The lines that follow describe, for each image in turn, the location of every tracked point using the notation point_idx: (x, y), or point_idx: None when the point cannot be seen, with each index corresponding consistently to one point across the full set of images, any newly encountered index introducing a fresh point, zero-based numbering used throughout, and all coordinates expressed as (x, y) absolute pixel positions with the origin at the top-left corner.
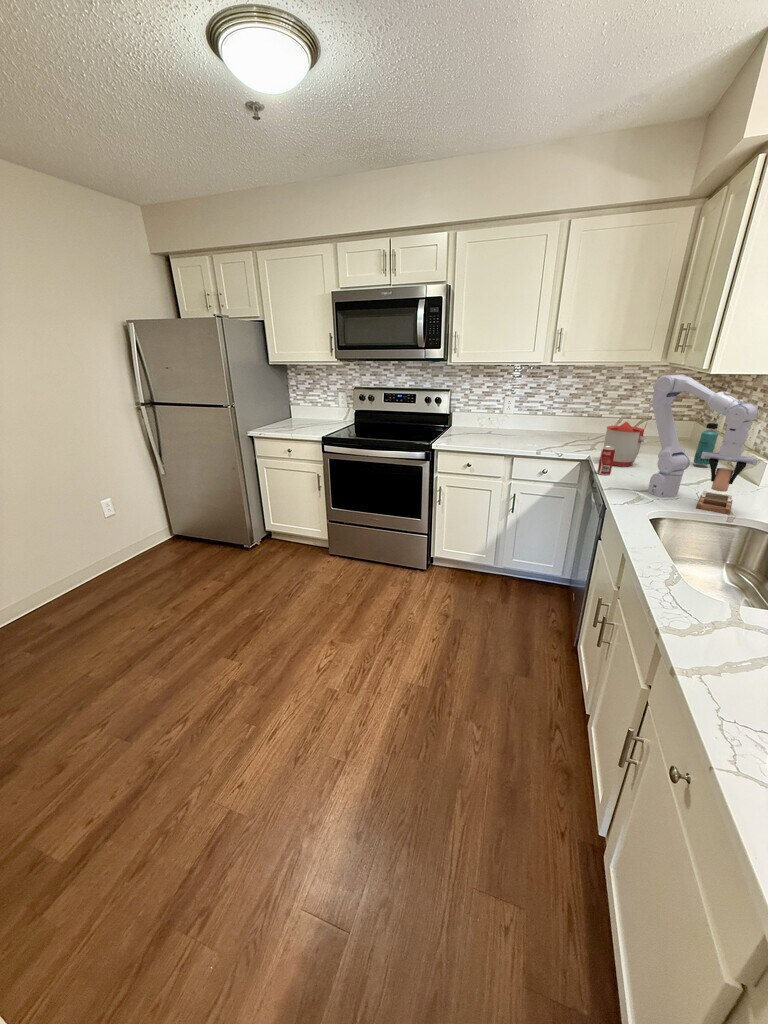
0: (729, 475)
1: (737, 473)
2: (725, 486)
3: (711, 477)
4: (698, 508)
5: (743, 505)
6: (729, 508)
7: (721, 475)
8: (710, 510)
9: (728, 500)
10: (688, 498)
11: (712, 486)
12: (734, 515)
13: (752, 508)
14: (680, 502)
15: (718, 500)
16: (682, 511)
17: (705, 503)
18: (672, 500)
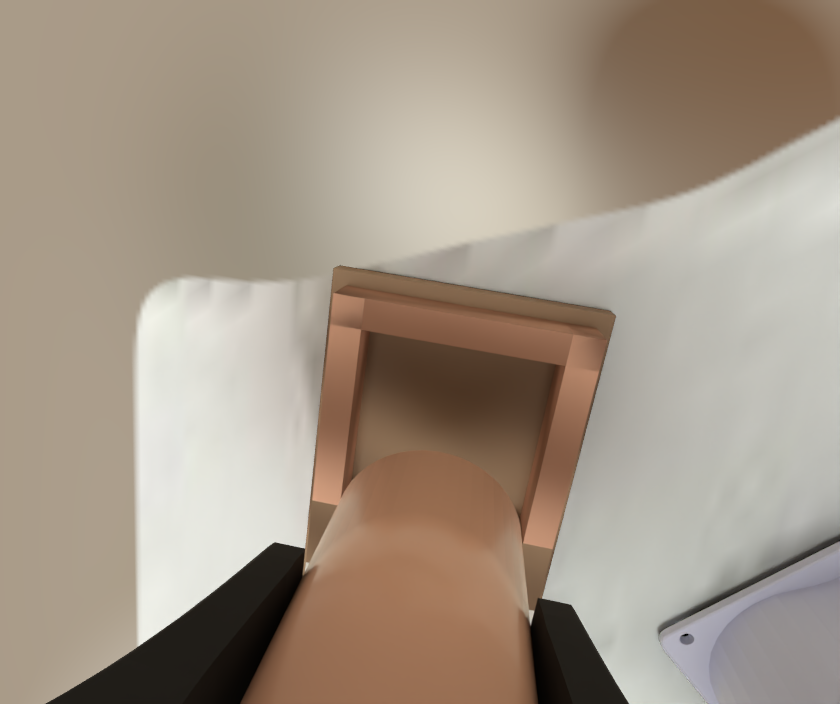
0: (282, 669)
1: (89, 695)
2: (361, 503)
3: (600, 657)
4: (587, 327)
5: None
6: (331, 331)
7: (444, 654)
8: (486, 310)
9: None
10: (606, 643)
11: (520, 544)
12: (298, 341)
13: (177, 581)
14: (700, 506)
15: None
16: (740, 221)
17: None
18: (765, 535)
